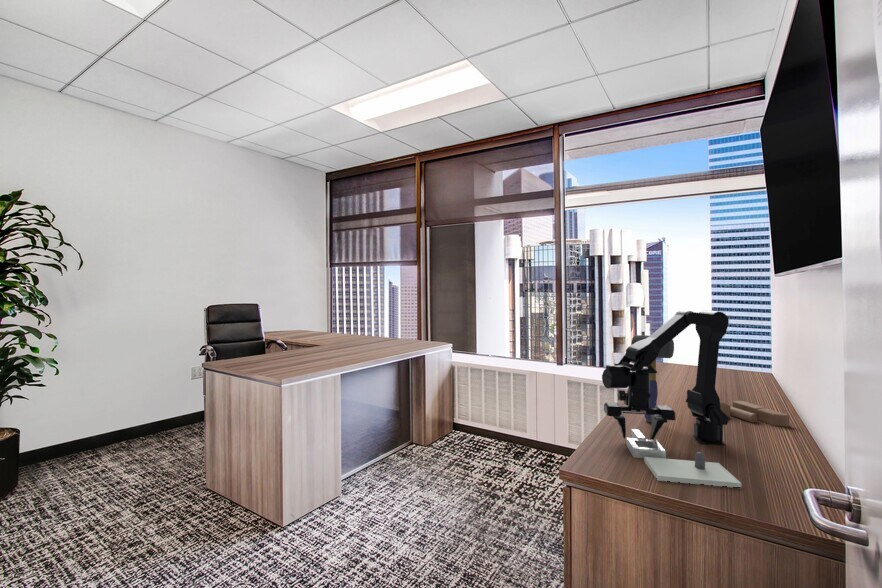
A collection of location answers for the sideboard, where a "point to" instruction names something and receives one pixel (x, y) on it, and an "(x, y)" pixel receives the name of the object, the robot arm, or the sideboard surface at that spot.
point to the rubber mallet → (664, 353)
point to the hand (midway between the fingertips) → (637, 439)
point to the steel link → (644, 446)
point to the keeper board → (691, 471)
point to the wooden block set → (755, 413)
